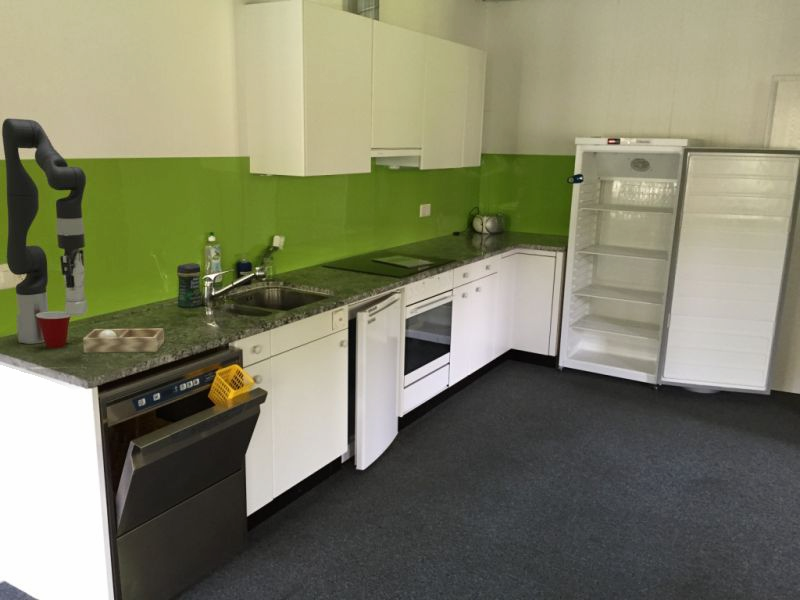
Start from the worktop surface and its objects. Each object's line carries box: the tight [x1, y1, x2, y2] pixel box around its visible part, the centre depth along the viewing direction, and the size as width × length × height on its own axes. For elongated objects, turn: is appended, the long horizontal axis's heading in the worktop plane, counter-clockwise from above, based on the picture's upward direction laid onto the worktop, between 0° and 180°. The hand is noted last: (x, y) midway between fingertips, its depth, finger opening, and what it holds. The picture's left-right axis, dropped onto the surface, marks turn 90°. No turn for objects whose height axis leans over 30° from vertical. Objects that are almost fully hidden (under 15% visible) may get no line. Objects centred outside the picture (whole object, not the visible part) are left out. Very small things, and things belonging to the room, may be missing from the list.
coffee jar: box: [176, 262, 203, 309], centre depth 290 cm, size 10×8×19 cm
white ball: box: [98, 330, 117, 338], centre depth 227 cm, size 6×6×6 cm
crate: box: [82, 327, 165, 354], centre depth 228 cm, size 23×12×6 cm, turn 98°
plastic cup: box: [36, 311, 72, 349], centre depth 228 cm, size 11×11×12 cm
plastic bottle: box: [62, 252, 88, 317], centre depth 211 cm, size 6×7×20 cm
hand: (74, 285), depth 211 cm, fingers closed on plastic bottle, 6 cm apart
